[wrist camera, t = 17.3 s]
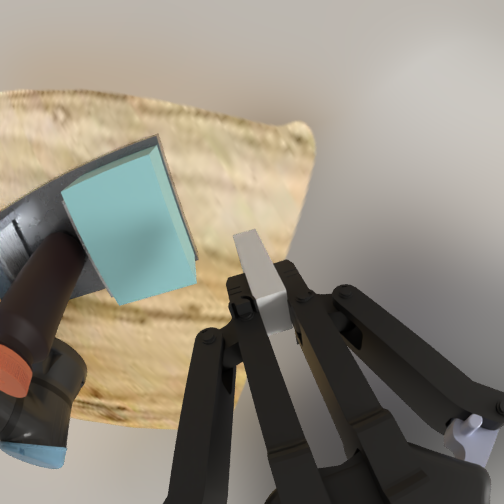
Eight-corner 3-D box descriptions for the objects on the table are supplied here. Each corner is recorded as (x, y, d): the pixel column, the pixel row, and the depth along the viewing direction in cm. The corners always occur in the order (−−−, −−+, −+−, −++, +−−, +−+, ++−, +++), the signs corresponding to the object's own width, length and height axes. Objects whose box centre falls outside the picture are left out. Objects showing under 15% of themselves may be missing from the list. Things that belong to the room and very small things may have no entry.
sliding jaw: (123, 276, 33) (114, 306, 28) (77, 177, 26) (56, 194, 21) (194, 254, 34) (196, 283, 29) (156, 144, 26) (149, 154, 21)
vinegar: (55, 280, 31) (6, 402, 14) (34, 238, 28) (-40, 354, 11) (93, 270, 32) (51, 405, 15) (73, 224, 28) (-2, 352, 12)
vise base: (41, 301, 34) (24, 336, 28) (-8, 216, 26) (-37, 242, 19) (197, 252, 36) (201, 288, 29) (158, 133, 28) (148, 142, 21)
